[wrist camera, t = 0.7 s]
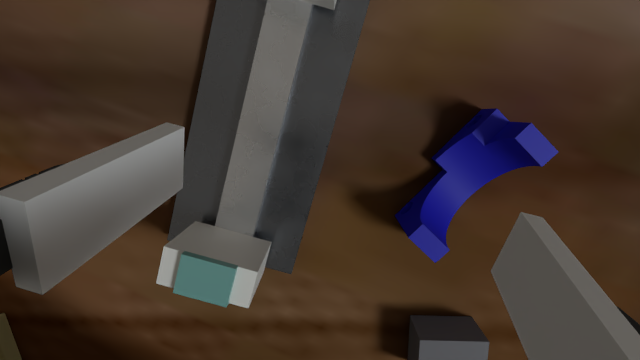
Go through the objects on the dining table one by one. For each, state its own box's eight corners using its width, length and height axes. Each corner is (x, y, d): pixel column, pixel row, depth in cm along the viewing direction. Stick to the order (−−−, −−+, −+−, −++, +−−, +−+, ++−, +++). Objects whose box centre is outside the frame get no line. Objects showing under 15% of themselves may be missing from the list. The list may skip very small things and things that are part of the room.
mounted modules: (263, 272, 31) (246, 312, 25) (188, 251, 31) (152, 287, 25) (345, -31, 26) (350, -77, 20) (257, -58, 26) (233, -113, 20)
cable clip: (481, 109, 30) (517, 108, 24) (514, 144, 31) (558, 151, 25) (383, 204, 32) (394, 224, 26) (416, 236, 33) (435, 263, 27)
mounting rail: (292, 269, 33) (290, 279, 31) (172, 236, 33) (162, 244, 31) (372, -12, 29) (376, -21, 27) (232, -54, 28) (225, -67, 26)
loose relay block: (466, 360, 35) (483, 391, 31) (407, 358, 35) (416, 389, 31) (470, 315, 34) (489, 341, 30) (409, 314, 34) (420, 340, 30)
